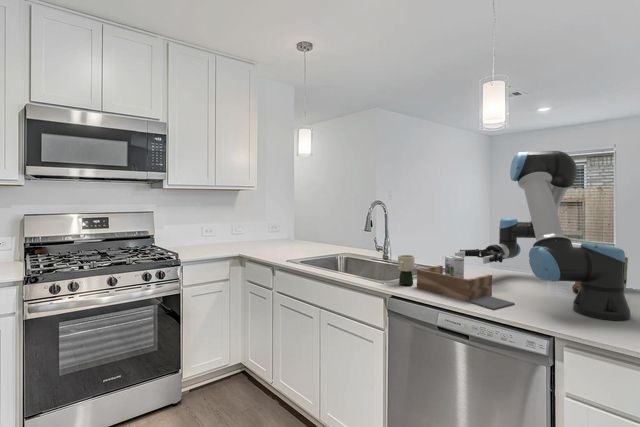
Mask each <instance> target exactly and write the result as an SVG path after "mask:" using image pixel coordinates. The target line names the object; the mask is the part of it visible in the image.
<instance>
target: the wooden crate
mask: <svg viewBox="0 0 640 427" xmlns="http://www.w3.org/2000/svg"><path fill="white" fill-rule="evenodd" d="M443 269H444V267H443V265H434V266H429V267H424V268H418V269H416V288H417V289H420V290H424V291H428V292H430V293H431V292H432V293H435V294H439V295H443V296H447V297H450V298H453V299H458V300H461V301H465V299H466V300H471V299H475V298H478V297H482V296H485V295H487V296H492V295H493V275H492V274H486V275H485V274H484V275H482V276H477V277H473V278H464V279H463V278H459V277H454V276H449V275H445V273H443ZM465 302H466V301H465Z"/></svg>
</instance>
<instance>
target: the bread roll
mask: <svg viewBox="0 0 640 427" xmlns="http://www.w3.org/2000/svg"><path fill="white" fill-rule="evenodd" d="M579 289H580V282H576V283H575V282H574V284H573V286H572V292H573V293H575V294H576V295H577V293H578V291H579Z"/></svg>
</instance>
